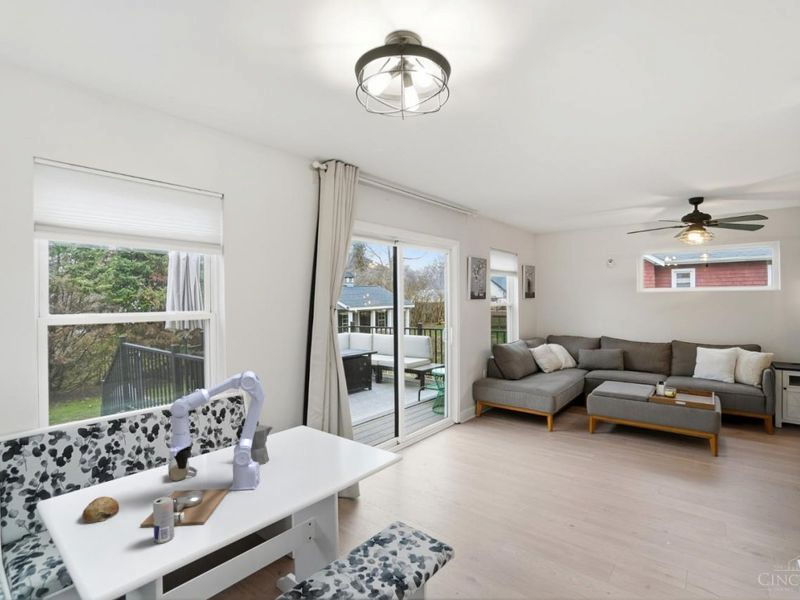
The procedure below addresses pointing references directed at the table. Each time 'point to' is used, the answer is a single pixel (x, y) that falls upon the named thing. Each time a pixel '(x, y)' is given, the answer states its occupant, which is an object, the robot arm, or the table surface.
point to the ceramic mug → (180, 471)
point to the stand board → (194, 508)
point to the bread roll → (100, 510)
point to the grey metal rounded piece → (187, 500)
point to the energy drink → (163, 519)
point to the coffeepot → (258, 443)
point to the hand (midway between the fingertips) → (182, 468)
